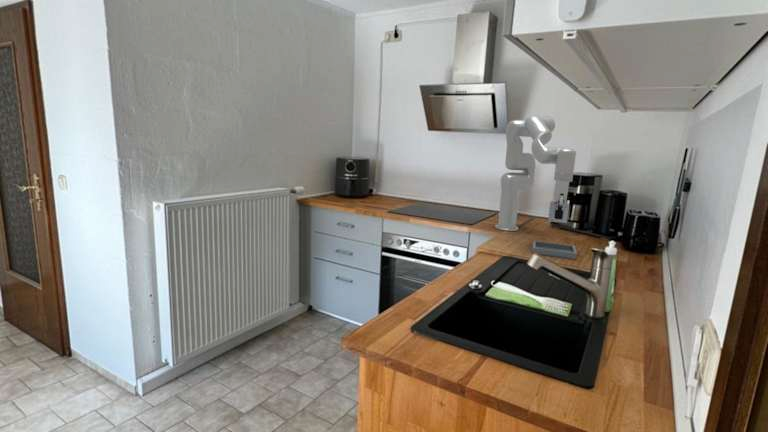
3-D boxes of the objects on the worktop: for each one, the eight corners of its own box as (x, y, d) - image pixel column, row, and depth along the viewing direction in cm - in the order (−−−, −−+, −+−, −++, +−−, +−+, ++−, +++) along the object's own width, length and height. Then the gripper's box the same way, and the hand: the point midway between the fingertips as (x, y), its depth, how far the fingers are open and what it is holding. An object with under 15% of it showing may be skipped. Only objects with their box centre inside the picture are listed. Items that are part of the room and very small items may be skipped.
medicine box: (567, 221, 185) (569, 202, 183) (566, 223, 181) (569, 204, 179) (548, 219, 188) (550, 200, 186) (547, 221, 184) (550, 202, 182)
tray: (532, 246, 197) (533, 240, 196) (573, 251, 191) (574, 245, 190) (532, 254, 184) (533, 248, 183) (576, 259, 178) (577, 253, 177)
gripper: (553, 174, 189) (548, 213, 193) (555, 178, 174) (549, 220, 177) (571, 176, 187) (565, 215, 191) (574, 179, 171) (568, 222, 175)
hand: (557, 217), depth 184 cm, fingers closed on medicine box, 4 cm apart
